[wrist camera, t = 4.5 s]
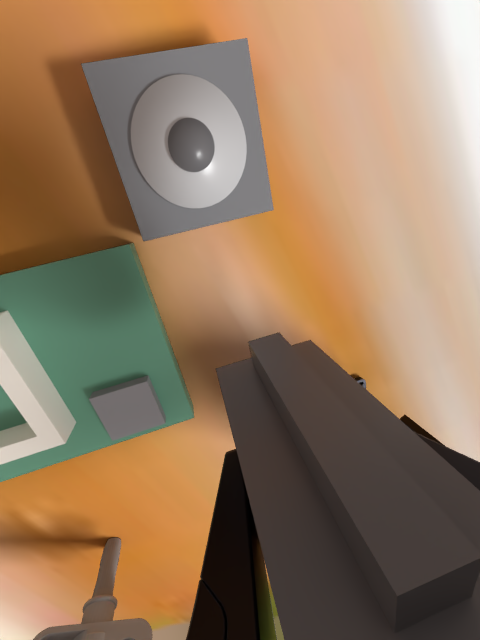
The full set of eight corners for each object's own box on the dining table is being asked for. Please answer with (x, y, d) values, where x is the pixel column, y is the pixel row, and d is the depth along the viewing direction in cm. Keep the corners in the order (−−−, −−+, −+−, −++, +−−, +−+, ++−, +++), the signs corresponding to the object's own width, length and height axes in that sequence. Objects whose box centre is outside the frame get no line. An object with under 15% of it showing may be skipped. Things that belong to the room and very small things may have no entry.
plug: (307, 317, 10) (639, 561, 3) (318, 414, 12) (531, 706, 5) (209, 346, 10) (304, 730, 2) (236, 442, 12) (336, 816, 4)
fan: (236, 66, 15) (249, 32, 12) (261, 211, 18) (275, 209, 15) (96, 89, 14) (77, 58, 11) (148, 238, 17) (142, 241, 15)
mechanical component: (58, 532, 24) (-16, 722, 15) (168, 532, 27) (163, 689, 18) (53, 553, 25) (-21, 747, 16) (161, 551, 28) (152, 710, 19)
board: (133, 242, 17) (122, 247, 14) (193, 405, 22) (195, 436, 19) (-221, 328, 15) (-333, 357, 11) (-58, 487, 20) (-104, 538, 17)
